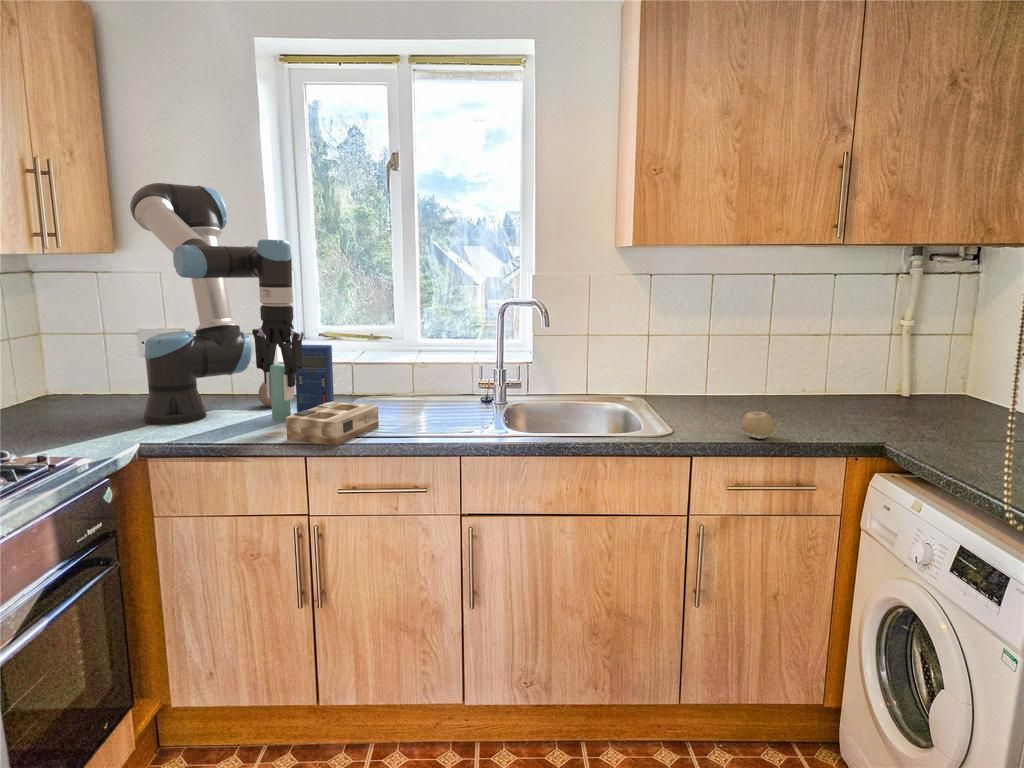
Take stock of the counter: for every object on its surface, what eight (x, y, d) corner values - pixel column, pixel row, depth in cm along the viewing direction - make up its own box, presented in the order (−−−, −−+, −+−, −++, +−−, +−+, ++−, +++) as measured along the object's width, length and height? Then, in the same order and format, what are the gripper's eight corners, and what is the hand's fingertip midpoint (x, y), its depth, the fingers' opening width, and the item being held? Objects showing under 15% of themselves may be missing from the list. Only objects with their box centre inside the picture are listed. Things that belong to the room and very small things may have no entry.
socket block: (287, 441, 156) (285, 415, 155) (332, 423, 174) (332, 400, 173) (337, 447, 152) (336, 421, 150) (379, 428, 169) (378, 404, 168)
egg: (254, 406, 192) (252, 379, 190) (276, 402, 197) (275, 376, 195) (267, 410, 187) (265, 382, 186) (289, 406, 192) (288, 379, 191)
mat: (259, 436, 160) (259, 434, 160) (280, 428, 167) (280, 427, 167) (286, 439, 157) (286, 438, 157) (306, 431, 165) (306, 430, 165)
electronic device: (296, 418, 179) (292, 346, 175) (301, 413, 184) (298, 344, 180) (330, 418, 179) (327, 347, 175) (335, 414, 184) (332, 344, 180)
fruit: (772, 436, 167) (775, 406, 166) (771, 443, 161) (774, 412, 159) (742, 432, 170) (744, 403, 169) (739, 439, 164) (742, 409, 162)
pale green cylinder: (268, 421, 161) (266, 366, 158) (280, 417, 165) (277, 363, 162) (283, 423, 160) (280, 367, 157) (294, 419, 164) (292, 364, 161)
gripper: (236, 303, 156) (241, 397, 160) (296, 307, 150) (300, 405, 155) (257, 301, 162) (262, 391, 167) (316, 305, 157) (319, 398, 162)
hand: (280, 397), depth 161 cm, fingers closed on pale green cylinder, 4 cm apart
